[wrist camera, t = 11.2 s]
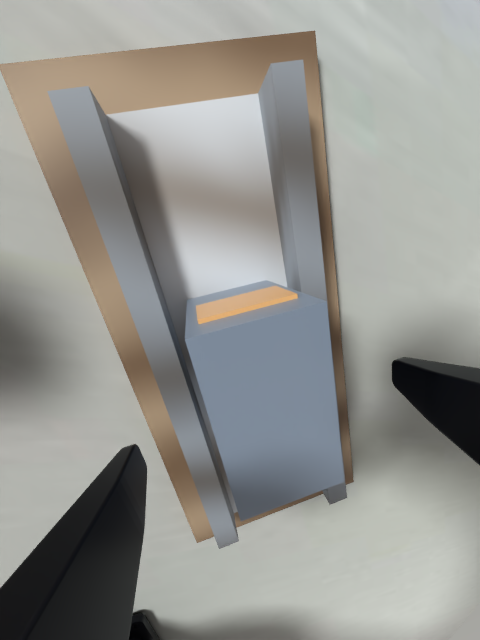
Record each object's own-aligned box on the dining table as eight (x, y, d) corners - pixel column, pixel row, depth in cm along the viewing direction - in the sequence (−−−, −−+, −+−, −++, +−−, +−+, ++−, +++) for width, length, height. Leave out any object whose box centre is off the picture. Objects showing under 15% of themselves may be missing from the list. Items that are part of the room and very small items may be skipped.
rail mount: (346, 472, 18) (373, 508, 16) (196, 529, 17) (198, 581, 14) (305, 46, 10) (344, -23, 8) (14, 80, 9) (-60, 7, 6)
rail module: (286, 396, 14) (344, 481, 9) (220, 417, 13) (240, 521, 8) (265, 276, 12) (326, 296, 7) (185, 296, 11) (183, 334, 6)
